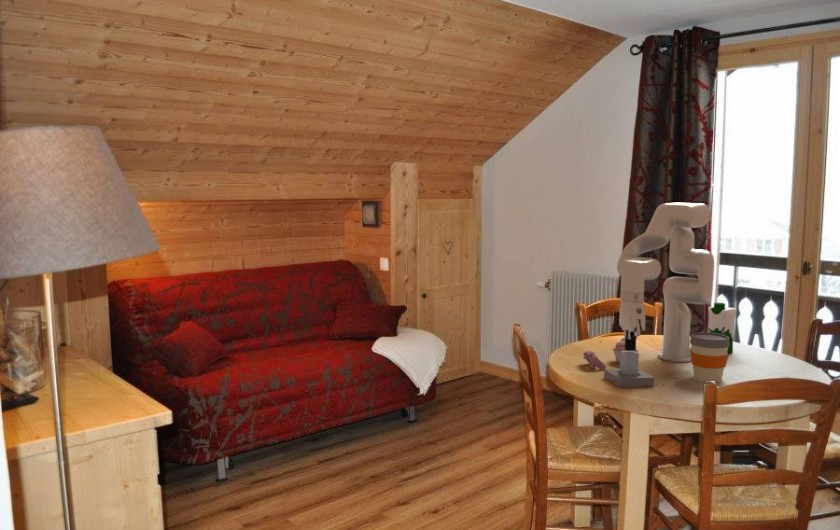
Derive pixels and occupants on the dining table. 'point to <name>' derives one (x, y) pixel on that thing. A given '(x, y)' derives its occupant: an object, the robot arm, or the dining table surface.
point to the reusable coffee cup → (709, 355)
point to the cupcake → (620, 349)
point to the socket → (628, 379)
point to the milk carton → (722, 322)
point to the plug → (629, 363)
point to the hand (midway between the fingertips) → (630, 350)
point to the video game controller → (593, 360)
